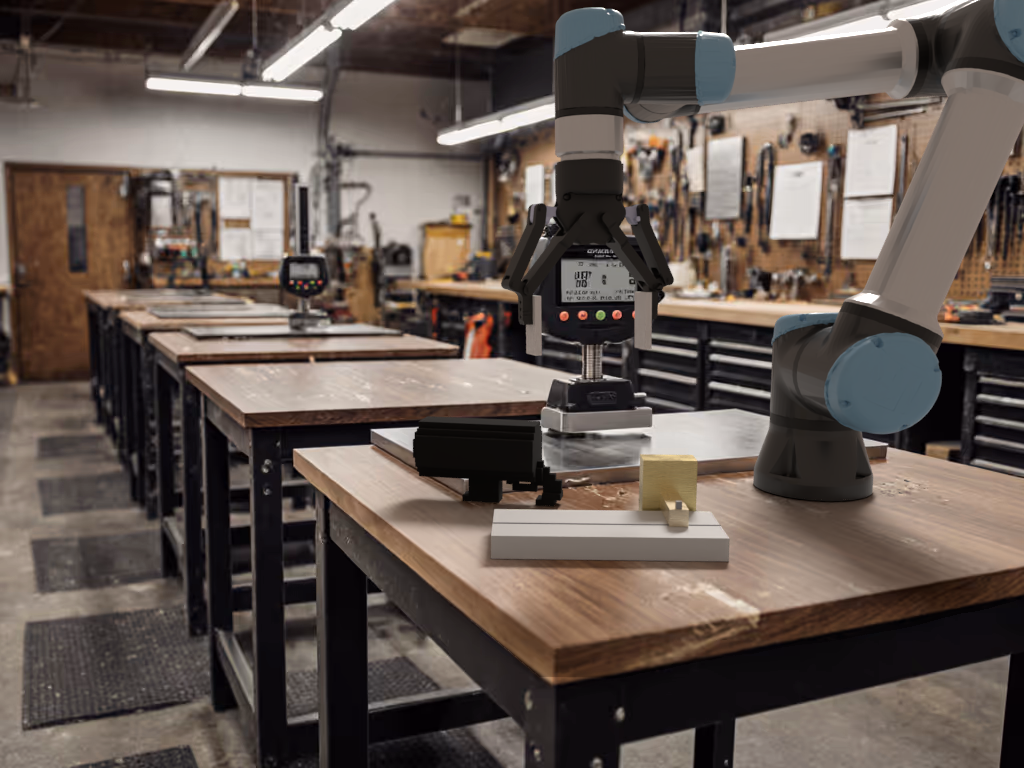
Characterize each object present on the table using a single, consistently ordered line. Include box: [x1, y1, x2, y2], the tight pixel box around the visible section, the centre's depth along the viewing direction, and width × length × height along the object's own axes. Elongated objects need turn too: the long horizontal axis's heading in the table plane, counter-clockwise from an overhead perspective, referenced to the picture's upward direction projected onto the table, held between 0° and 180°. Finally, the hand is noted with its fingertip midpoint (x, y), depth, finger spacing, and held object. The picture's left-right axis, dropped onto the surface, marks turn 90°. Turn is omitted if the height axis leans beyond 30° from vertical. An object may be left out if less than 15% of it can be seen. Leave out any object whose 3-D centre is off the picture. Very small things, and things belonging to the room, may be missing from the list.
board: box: [490, 508, 731, 562], centre depth 101 cm, size 24×10×2 cm, turn 89°
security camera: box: [412, 415, 564, 508], centre depth 118 cm, size 7×18×10 cm, turn 79°
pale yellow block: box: [638, 453, 699, 527], centre depth 104 cm, size 6×10×8 cm, turn 179°
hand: (589, 351), depth 107 cm, fingers open, 13 cm apart
